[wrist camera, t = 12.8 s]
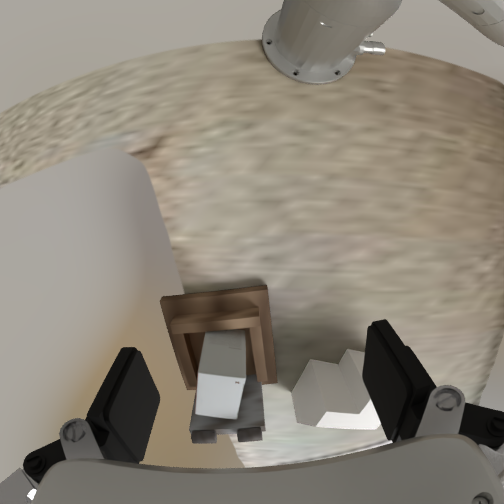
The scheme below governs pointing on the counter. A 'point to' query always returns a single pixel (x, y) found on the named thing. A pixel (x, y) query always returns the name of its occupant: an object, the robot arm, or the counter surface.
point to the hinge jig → (257, 352)
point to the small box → (221, 374)
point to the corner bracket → (335, 395)
